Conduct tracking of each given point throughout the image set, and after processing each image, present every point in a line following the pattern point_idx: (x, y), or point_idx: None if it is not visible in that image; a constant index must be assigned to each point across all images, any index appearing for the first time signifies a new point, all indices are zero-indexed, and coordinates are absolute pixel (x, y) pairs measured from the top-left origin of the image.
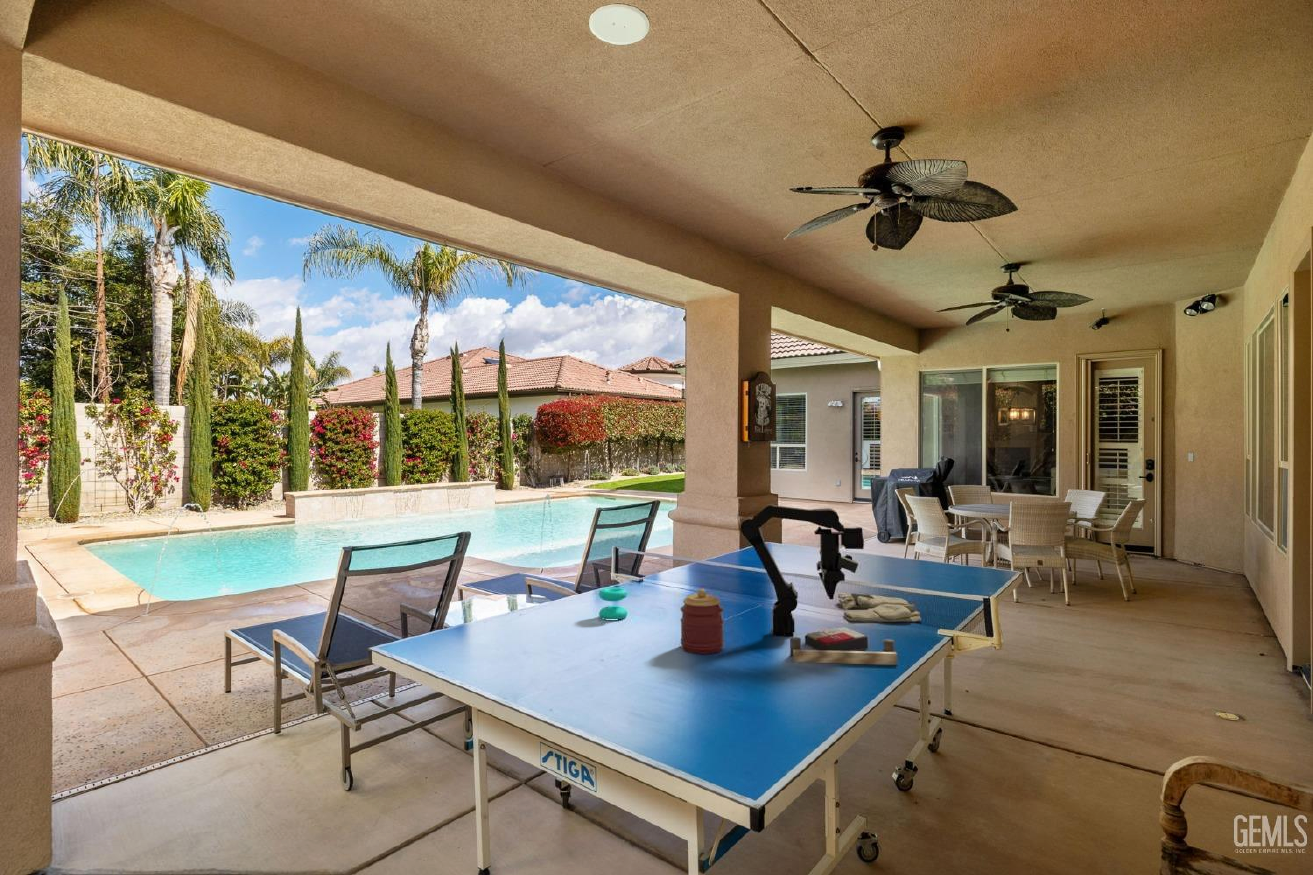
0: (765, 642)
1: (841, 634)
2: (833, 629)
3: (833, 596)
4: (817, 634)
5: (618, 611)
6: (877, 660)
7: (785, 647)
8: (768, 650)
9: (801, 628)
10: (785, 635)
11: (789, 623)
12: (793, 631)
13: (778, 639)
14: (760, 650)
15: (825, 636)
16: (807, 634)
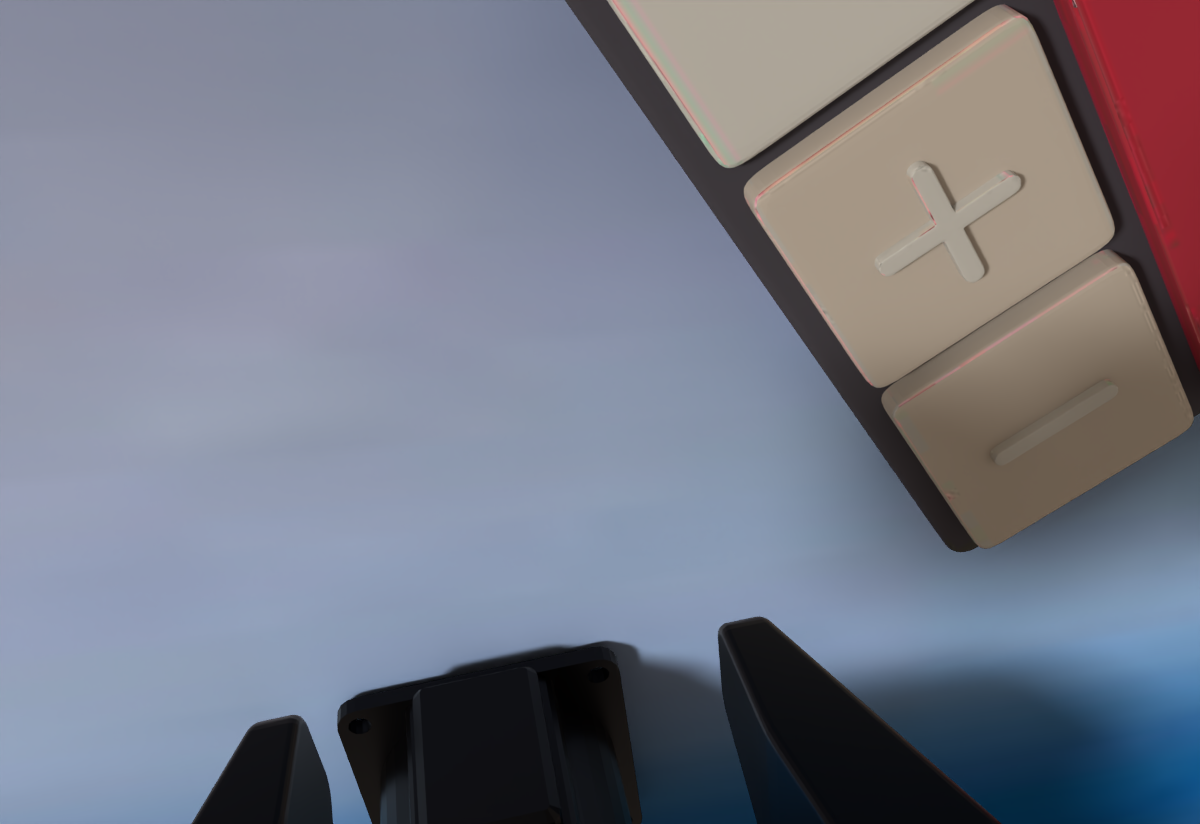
0: None
1: (1141, 37)
2: (818, 199)
3: (833, 678)
4: (1064, 421)
5: None
6: None
7: (1059, 638)
8: (1147, 743)
9: (156, 613)
10: (625, 717)
11: (587, 813)
12: (540, 683)
13: None
14: (1141, 793)
15: (1142, 300)
16: (1003, 538)
